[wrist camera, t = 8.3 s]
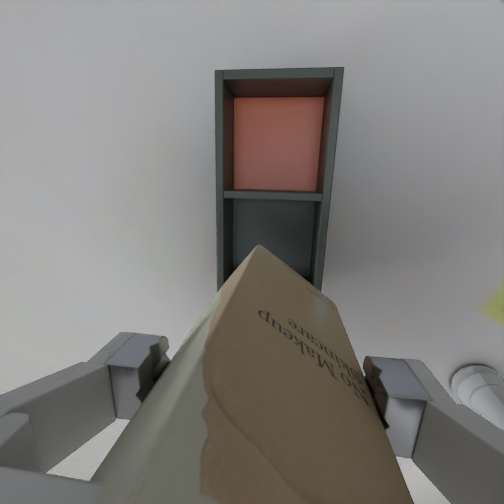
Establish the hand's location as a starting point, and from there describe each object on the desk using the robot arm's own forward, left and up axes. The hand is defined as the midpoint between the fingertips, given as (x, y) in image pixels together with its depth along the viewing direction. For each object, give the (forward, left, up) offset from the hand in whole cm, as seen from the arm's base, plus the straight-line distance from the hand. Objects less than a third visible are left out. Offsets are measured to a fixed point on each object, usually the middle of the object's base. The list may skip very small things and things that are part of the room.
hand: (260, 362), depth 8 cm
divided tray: (+1, -5, -17) cm, 18 cm away
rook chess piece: (-20, +13, -18) cm, 30 cm away
